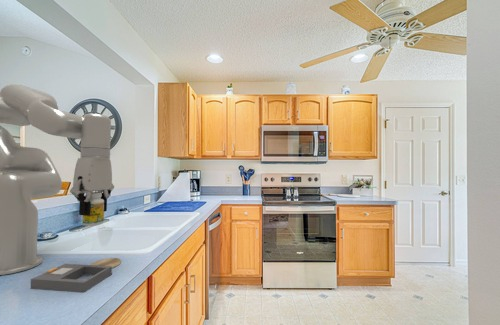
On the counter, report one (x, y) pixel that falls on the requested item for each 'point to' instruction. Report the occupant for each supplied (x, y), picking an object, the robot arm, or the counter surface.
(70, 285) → the gray rectangular fixture
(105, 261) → the cork coaster
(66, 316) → the counter surface
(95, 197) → the supplement bottle
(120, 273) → the counter surface
